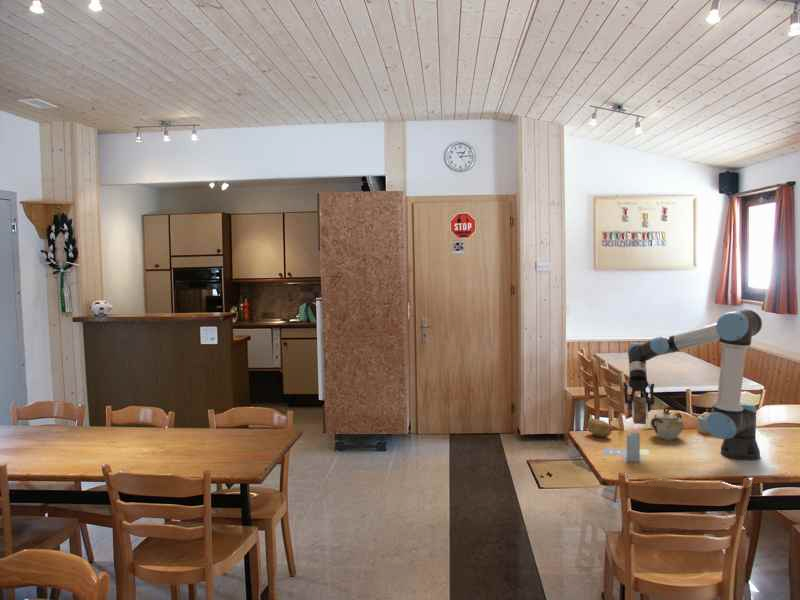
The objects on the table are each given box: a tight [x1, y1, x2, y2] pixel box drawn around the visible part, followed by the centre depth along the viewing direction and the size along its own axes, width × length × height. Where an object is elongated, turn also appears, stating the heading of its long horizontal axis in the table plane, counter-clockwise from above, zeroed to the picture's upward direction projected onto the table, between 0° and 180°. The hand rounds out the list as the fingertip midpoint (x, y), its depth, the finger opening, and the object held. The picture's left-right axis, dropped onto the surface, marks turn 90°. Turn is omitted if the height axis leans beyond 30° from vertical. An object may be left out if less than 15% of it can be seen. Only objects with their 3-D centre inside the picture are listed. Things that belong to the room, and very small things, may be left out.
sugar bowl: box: [649, 406, 685, 441], centre depth 299 cm, size 20×15×15 cm
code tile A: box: [602, 447, 627, 457], centre depth 278 cm, size 10×10×1 cm
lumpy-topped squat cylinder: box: [697, 412, 712, 435], centre depth 308 cm, size 10×13×9 cm
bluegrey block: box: [626, 432, 641, 462], centre depth 266 cm, size 5×5×11 cm
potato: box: [587, 417, 613, 438], centre depth 303 cm, size 10×14×8 cm
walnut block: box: [632, 396, 647, 425], centre depth 276 cm, size 5×5×11 cm
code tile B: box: [622, 456, 644, 464], centre depth 267 cm, size 8×8×1 cm
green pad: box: [640, 448, 650, 456], centre depth 277 cm, size 8×8×1 cm
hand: (640, 416), depth 273 cm, fingers closed on walnut block, 5 cm apart
